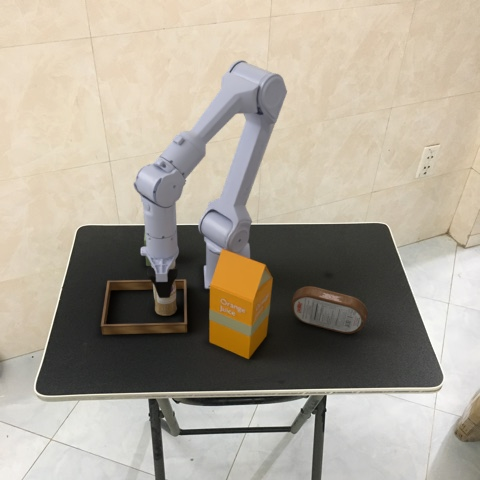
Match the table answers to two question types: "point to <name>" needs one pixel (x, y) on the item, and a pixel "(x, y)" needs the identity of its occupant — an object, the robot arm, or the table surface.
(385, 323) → the table surface
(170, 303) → the sprinkles bottle
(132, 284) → the wooden frame
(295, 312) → the tin
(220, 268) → the orange juice
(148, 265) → the block
